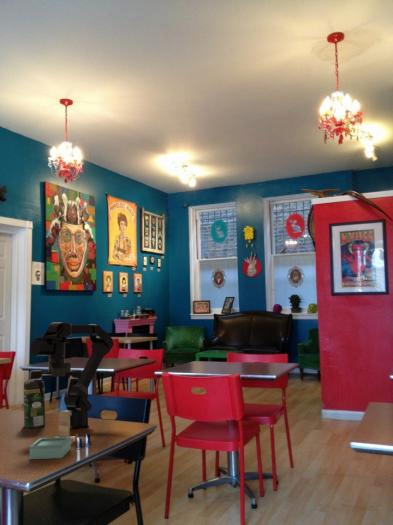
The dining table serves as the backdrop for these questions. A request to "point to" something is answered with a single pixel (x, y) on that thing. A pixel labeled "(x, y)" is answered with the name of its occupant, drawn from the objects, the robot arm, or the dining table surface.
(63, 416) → the tan boxy piece
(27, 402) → the coffee jar
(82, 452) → the dining table surface
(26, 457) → the dining table surface
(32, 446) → the teal square tray
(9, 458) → the dining table surface
